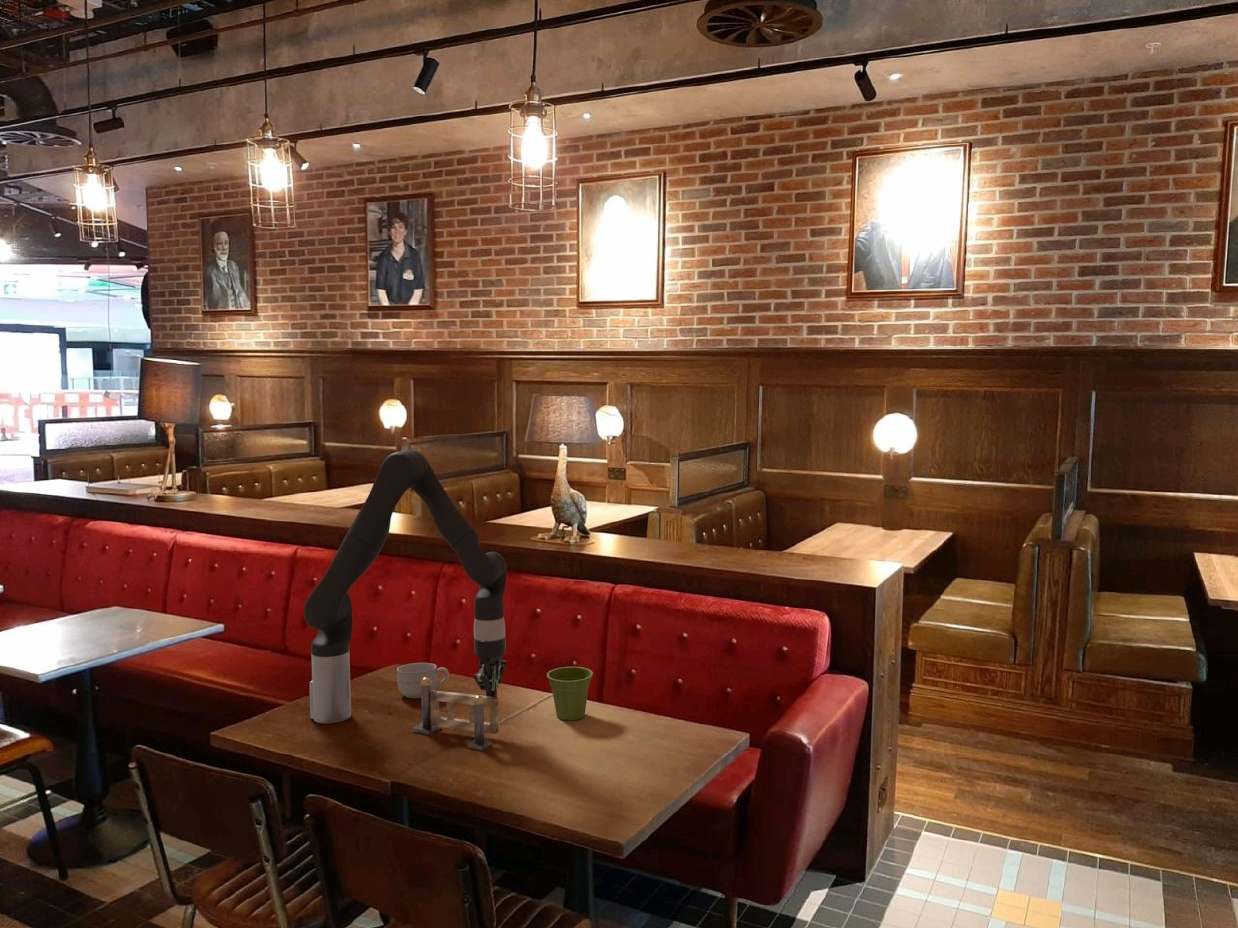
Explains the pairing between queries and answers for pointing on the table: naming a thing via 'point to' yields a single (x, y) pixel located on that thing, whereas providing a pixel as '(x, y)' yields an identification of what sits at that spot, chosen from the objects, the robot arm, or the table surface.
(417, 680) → the teacup
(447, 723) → the gate
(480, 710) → the latch post
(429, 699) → the hinge post
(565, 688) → the plant pot
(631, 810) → the table surface
